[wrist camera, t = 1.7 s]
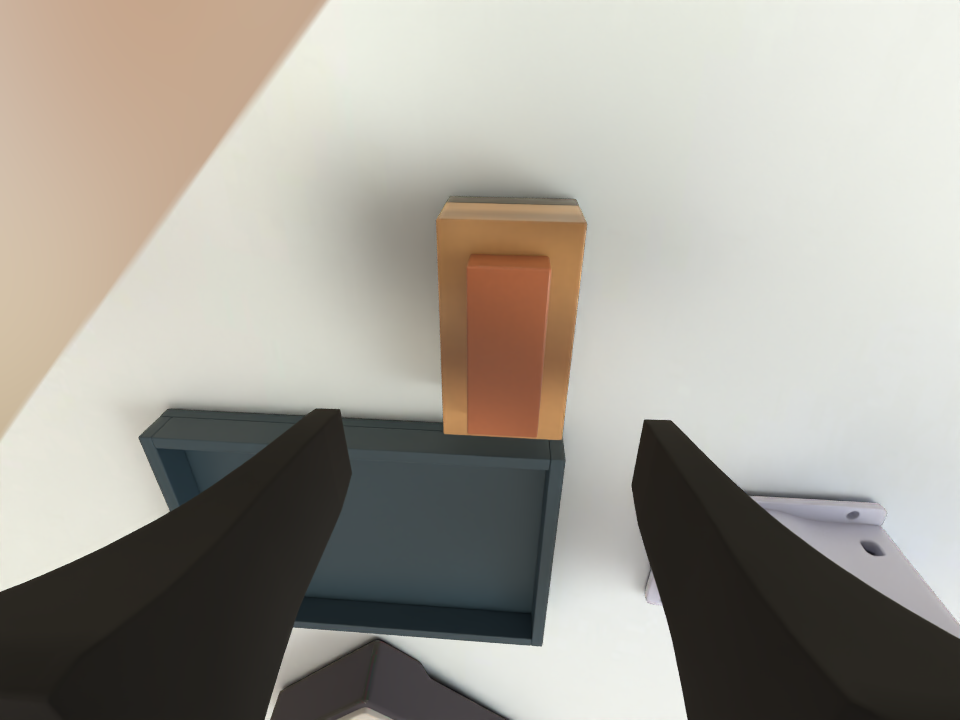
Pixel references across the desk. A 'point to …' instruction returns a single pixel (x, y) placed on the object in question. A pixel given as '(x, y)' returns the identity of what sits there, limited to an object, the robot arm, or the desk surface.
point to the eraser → (508, 313)
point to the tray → (403, 522)
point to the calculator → (375, 691)
